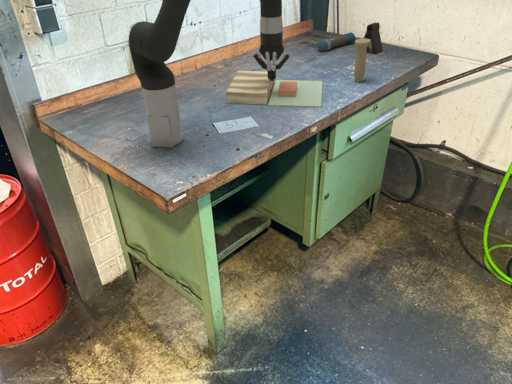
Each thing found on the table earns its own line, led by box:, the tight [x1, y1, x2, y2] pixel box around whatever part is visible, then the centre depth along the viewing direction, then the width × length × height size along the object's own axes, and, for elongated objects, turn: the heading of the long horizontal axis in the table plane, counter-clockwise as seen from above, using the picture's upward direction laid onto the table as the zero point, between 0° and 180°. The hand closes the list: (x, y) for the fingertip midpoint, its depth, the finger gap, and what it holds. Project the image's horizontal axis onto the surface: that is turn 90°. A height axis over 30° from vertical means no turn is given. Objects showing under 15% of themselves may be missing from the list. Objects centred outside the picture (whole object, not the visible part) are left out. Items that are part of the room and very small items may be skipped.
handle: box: [353, 37, 371, 83], centre depth 159 cm, size 5×6×15 cm
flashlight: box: [316, 31, 356, 53], centre depth 199 cm, size 5×22×5 cm, turn 129°
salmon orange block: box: [278, 81, 297, 97], centre depth 154 cm, size 9×6×2 cm, turn 172°
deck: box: [225, 70, 275, 105], centre depth 156 cm, size 22×14×4 cm, turn 171°
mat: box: [267, 79, 324, 108], centre depth 155 cm, size 24×18×1 cm
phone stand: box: [363, 21, 383, 55], centre depth 190 cm, size 9×6×12 cm, turn 47°
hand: (271, 80), depth 153 cm, fingers closed
